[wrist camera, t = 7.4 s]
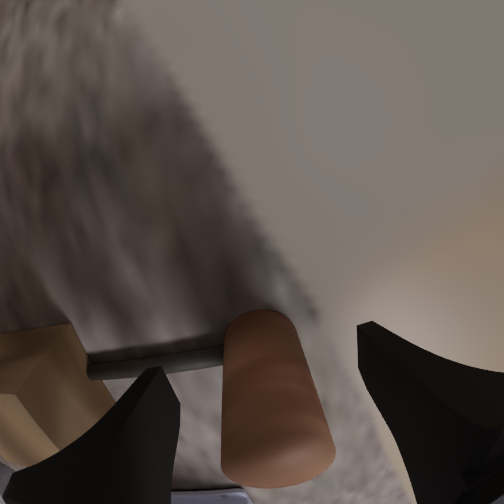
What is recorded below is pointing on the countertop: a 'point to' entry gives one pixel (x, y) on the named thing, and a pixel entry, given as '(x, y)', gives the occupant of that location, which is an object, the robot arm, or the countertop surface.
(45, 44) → the countertop surface
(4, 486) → the stone block
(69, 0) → the countertop surface
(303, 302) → the countertop surface
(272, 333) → the string block
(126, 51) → the countertop surface
